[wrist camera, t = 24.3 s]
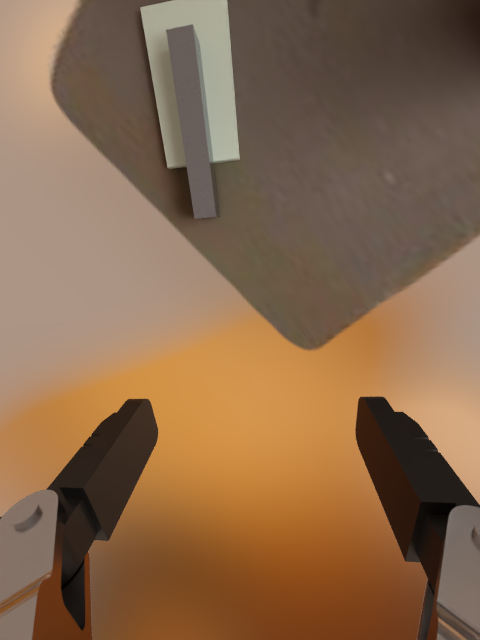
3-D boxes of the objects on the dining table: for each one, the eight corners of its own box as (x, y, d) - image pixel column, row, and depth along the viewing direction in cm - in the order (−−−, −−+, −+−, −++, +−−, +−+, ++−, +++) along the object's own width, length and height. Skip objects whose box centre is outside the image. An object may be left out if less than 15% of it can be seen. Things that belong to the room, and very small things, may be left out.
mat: (227, -4, 28) (225, -11, 27) (239, 160, 34) (239, 158, 33) (144, 14, 29) (140, 7, 28) (170, 168, 35) (167, 167, 34)
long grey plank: (199, 43, 29) (192, 24, 26) (219, 216, 36) (216, 216, 33) (175, 47, 29) (166, 29, 27) (199, 219, 36) (194, 218, 34)
